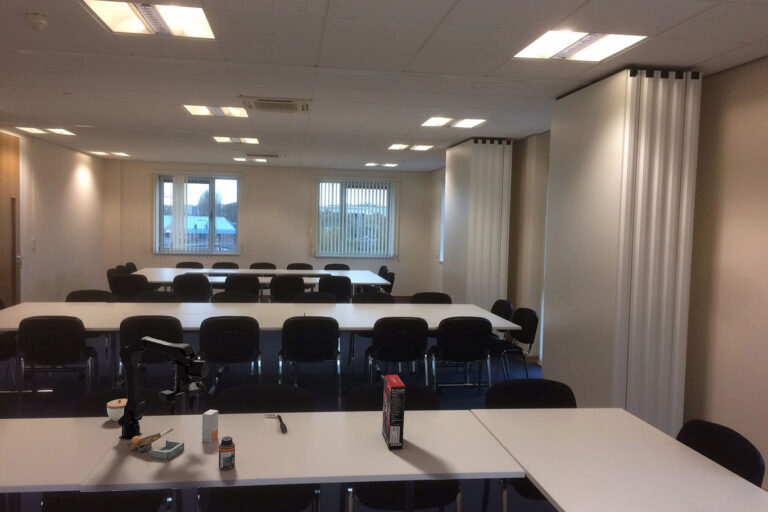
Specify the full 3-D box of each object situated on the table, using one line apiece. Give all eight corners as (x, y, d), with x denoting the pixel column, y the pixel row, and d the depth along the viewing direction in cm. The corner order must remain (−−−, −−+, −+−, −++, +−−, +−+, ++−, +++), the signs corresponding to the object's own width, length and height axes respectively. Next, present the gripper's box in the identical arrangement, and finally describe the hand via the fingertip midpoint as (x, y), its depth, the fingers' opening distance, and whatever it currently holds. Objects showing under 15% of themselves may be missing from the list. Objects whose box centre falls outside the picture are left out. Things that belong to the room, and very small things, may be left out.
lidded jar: (125, 423, 235) (125, 403, 235) (101, 422, 236) (101, 402, 235) (136, 414, 246) (136, 395, 246) (114, 414, 246) (114, 395, 246)
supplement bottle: (220, 463, 198) (220, 434, 197) (236, 463, 199) (236, 434, 198) (216, 470, 192) (217, 441, 192) (233, 470, 193) (233, 441, 192)
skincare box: (211, 442, 217) (211, 414, 216) (201, 441, 218) (202, 414, 217) (218, 437, 223) (218, 410, 222) (209, 436, 224) (209, 409, 223)
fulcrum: (138, 453, 205) (138, 447, 205) (148, 447, 211) (148, 441, 211) (141, 453, 205) (141, 447, 205) (151, 447, 211) (151, 441, 211)
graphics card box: (381, 434, 231) (382, 374, 229) (396, 433, 232) (397, 374, 230) (388, 450, 214) (390, 386, 212) (404, 449, 215) (406, 385, 214)
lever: (129, 449, 207) (127, 444, 207) (150, 437, 219) (148, 431, 219) (153, 442, 204) (151, 436, 204) (173, 429, 217) (171, 424, 217)
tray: (150, 457, 202) (150, 450, 201) (166, 447, 211) (166, 440, 211) (168, 460, 200) (168, 452, 200) (184, 449, 210) (184, 442, 209)
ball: (129, 445, 208) (129, 437, 207) (135, 442, 211) (135, 434, 211) (136, 446, 207) (136, 438, 207) (142, 442, 210) (141, 435, 210)
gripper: (174, 384, 202) (173, 422, 203) (213, 374, 218) (212, 409, 219) (158, 378, 208) (157, 416, 209) (197, 369, 224) (196, 404, 225)
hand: (181, 411), depth 215 cm, fingers open, 9 cm apart
